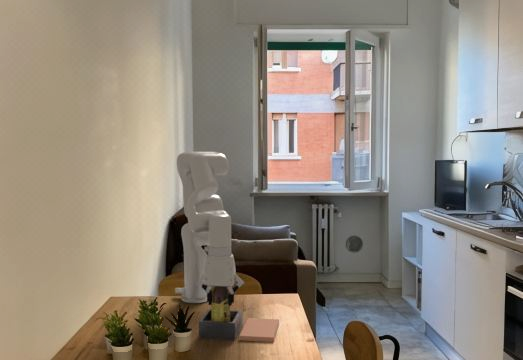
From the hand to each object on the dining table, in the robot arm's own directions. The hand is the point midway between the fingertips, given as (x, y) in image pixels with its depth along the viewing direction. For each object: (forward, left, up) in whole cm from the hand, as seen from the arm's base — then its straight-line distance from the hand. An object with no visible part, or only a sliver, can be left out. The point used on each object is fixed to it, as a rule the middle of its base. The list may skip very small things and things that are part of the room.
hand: (220, 303), depth 160 cm
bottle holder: (0, 0, -10) cm, 10 cm away
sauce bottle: (0, 0, -10) cm, 10 cm away
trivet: (+13, +2, -10) cm, 16 cm away
